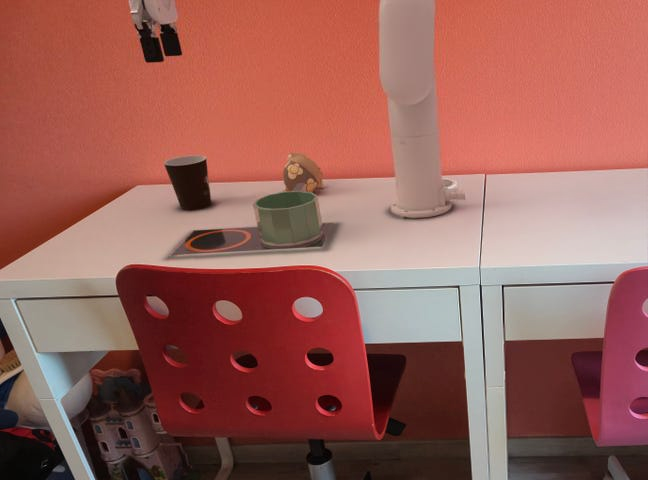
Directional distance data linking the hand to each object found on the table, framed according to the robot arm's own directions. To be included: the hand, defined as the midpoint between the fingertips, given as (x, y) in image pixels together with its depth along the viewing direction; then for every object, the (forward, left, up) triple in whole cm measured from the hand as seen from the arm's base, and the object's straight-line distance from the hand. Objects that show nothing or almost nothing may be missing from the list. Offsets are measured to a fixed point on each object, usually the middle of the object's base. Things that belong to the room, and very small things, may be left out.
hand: (164, 58), depth 131 cm
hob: (-14, +14, -31) cm, 37 cm away
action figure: (-18, -19, -31) cm, 41 cm away
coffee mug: (+5, -13, -31) cm, 34 cm away
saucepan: (-21, +9, -31) cm, 38 cm away
